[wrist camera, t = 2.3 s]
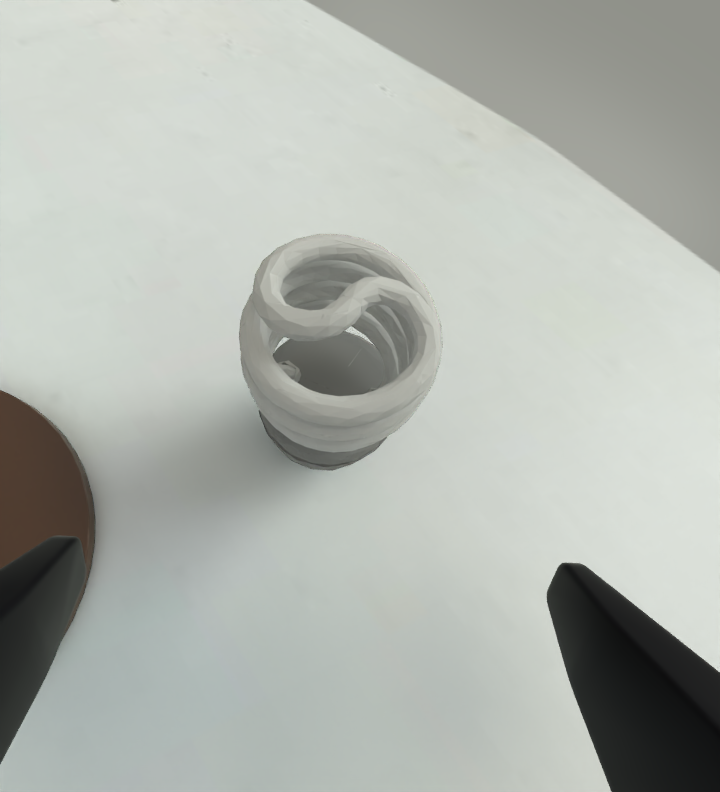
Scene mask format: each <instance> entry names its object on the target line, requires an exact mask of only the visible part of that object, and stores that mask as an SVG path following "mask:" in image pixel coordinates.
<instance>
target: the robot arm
mask: <svg viewBox="0 0 720 792" xmlns="http://www.w3.org/2000/svg"><path fill="white" fill-rule="evenodd" d="M85 579H86V564H85V559H84V554H83V548H82V543H81V540H80V539H79V538H78V537H75V536H58V535H57V536H52V537H50V538H48V539H46V540H45V541H43V542H42V543H40V544H38V545H37V546H35V547H34V548H32V549H31V550H29V551H28V552H26V553H24V554H23V555H21V556H20V557H18V558H17V559H15V560H14V561H12V562H10V563H9V564H7V565H6V566H4V567H3V568H1V569H0V764H1V762H2V760H3V758H4V756H5V754H6V752H7V750H8V748H9V747H10V745H11V743H12V741H13V739H14V737H15V735H16V733H17V731H18V729H19V727H20V726H21V724H22V722H23V720H24V718H25V716H26V714H27V712H28V710H29V708H30V706H31V705H32V703H33V701H34V699H35V697H36V695H37V693H38V691H39V689H40V687H41V685H42V683H43V681H44V679H45V677H46V675H47V673H48V671H49V669H50V666H51V664H52V662H53V659H54V657H55V655H56V652H57V650H58V647H59V645H60V642H61V640H62V637H63V635H64V632H65V630H66V627H67V625H68V622H69V620H70V618H71V615H72V613H73V610H74V608H75V605H76V603H77V600H78V598H79V595H80V593H81V590H82V588H83V585H84V583H85ZM547 603H548V607H549V611H550V614H551V618H552V621H553V625H554V629H555V632H556V636H557V639H558V643H559V646H560V650H561V653H562V657H563V661H564V664H565V668H566V671H567V674H568V678H569V681H570V684H571V687H572V689H573V692H574V695H575V698H576V700H577V703H578V706H579V708H580V711H581V713H582V716H583V719H584V721H585V724H586V726H587V729H588V732H589V734H590V737H591V739H592V742H593V745H594V747H595V750H596V752H597V755H598V758H599V760H600V763H601V765H602V768H603V771H604V773H605V776H606V778H607V781H608V784H609V786H610V789H611V792H720V672H718V671H717V670H716V669H715V668H713V667H712V666H711V665H710V664H708V663H707V662H706V661H705V660H703V659H702V658H701V657H700V656H698V655H697V654H696V653H695V652H693V651H692V650H691V649H689V648H688V647H687V646H686V645H684V644H683V643H682V642H681V641H679V640H678V639H677V638H676V637H674V636H673V635H672V634H671V633H669V632H668V631H667V630H666V629H664V628H663V627H662V626H661V625H659V624H658V623H657V622H655V621H654V620H653V619H652V618H650V617H649V616H648V615H647V614H645V613H644V612H643V611H642V610H640V609H639V608H638V607H637V606H635V605H634V604H633V603H632V602H630V601H629V600H628V599H626V598H625V597H624V596H623V595H621V594H620V593H619V592H618V591H616V590H615V589H614V588H613V587H611V586H610V585H609V584H608V583H606V582H605V581H604V580H603V579H601V578H600V577H599V576H598V575H596V574H595V573H594V572H592V571H591V570H590V569H589V568H587V567H586V566H585V565H583V564H579V563H562V564H561V565H559V567H558V568H557V571H556V573H555V575H554V577H553V579H552V582H551V584H550V586H549V588H548V591H547Z"/></svg>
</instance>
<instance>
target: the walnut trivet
mask: <svg viewBox="0 0 720 792" xmlns="http://www.w3.org/2000/svg"><path fill="white" fill-rule="evenodd" d="M57 535H58V536H75V537H78V538H79V539H80V540H81V543H82V548H83V554H84V559H85V564H86V579H85V583H84V585H83V588H82V590H81V593H80V595H79V598H78V600H77V603H76V605H75V608H74V610H73V613H72V615H71V618H70V620H69V622H68V625H67V627H66V630H65V632H64V635H65V633H66V631H67V629H68V628H69V626H70V624H71V622H72V620H73V618H74V616H75V613H76V611H77V608H78V606H79V603H80V601H81V599H82V596H83V594H84V590H85V587H86V583H87V580H88V576H89V572H90V569H91V563H92V557H93V550H94V543H95V514H94V507H93V499H92V493H91V490H90V486H89V483H88V479H87V476H86V473H85V471H84V468H83V466H82V464H81V462H80V460H79V458H78V455H77V454H76V452H75V451H74V449H73V448H72V446H71V445H70V443H69V442H68V440H67V439H66V437H65V436H64V435H63V434H62V433H61V432H60V431H59V429H58V428H57V427H56V426H55V425H54V424H53V423H52V422H51V421H50V420H49V419H47V418H46V417H45V416H44V415H42V414H41V413H40V412H39V411H37V410H36V409H35V408H33V407H32V406H30V405H28V404H26V403H25V402H23V401H21V400H19V399H18V398H16V397H14V396H12V395H10V394H8V393H6V392H3V391H1V390H0V569H1V568H3V567H4V566H6V565H7V564H9V563H10V562H12V561H14V560H15V559H17V558H18V557H20V556H21V555H23V554H24V553H26V552H28V551H29V550H31V549H32V548H34V547H35V546H37V545H38V544H40V543H42V542H43V541H45V540H46V539H48V538H50V537H52V536H57ZM64 635H63V637H64ZM63 637H62V639H63Z"/></svg>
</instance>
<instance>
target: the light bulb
mask: <svg viewBox="0 0 720 792" xmlns="http://www.w3.org/2000/svg"><path fill="white" fill-rule="evenodd" d="M350 326H352V327H354V328H355V329H357V330H358V331H360V332H361V333H363V334H364V335H366V336H367V337H368V338H369V340H370V341H371V342H372V343H373V344H374V345H375V346H376V347H375V346H374V345H373V344H371V343H370V342H368V341H366V340H365V339H363V338H361V337H360V336H357V335H354V334H351V333H348V332H345V330H346V329H347V328H349V327H350ZM283 337H286V338H289V340H288V341H286V342H285V343H284V344H282V345H281V346H280V347H279V348H278V349H277V350H276V351H275V348H276V347H277V345H278V343H279V342H280V340H281V339H282V338H283ZM239 340H240V350H241V364H242V370H243V375H244V378H245V380H246V383H247V385H248V388H249V389H250V393H251V395H252V397H253V399H254V401H255V403H256V405H257V407H258V409H259V414H260V417H261V420H262V422H263V424H264V427H265V429H266V432H267V434H268V435H269V437H270V438H271V439H272V440H273V442H274V443H275V444H276V445H277V447H278V448H279V449H280V450H281V451H282V452H283V453H284V454H285V455H286V456H287V457H288V458H289V459H291V460H292V461H294V462H296V463H299V464H301V465H303V466H306V467H308V468H310V469H320V470H335V469H338V468H341V467H344V466H348V465H351V464H353V463H355V462H357V461H359V460H361V459H362V458H364V457H365V456H367V455H369V454H370V453H372V452H374V451H375V450H376V449H377V448H378V447H379V446H380V445H381V444H382V442H383V441H384V440H385V439H386V438H387V436H389V435H390V434H392V433H394V432H395V431H397V430H398V429H399V428H400V427H401V426H402V425H403V424H405V423H406V422H407V421H408V420H409V418H410V417H411V416H412V415H413V414H414V412H415V411H416V410H417V408H418V407H419V405H420V403H421V402H422V400H423V399H424V398H425V396H426V395H427V394H428V392H429V390H430V388H431V386H432V384H433V383H434V380H435V377H436V374H437V370H438V367H439V364H440V361H441V353H442V332H441V324H440V320H439V317H438V313H437V310H436V307H435V304H434V301H433V299H432V297H431V296H430V294H429V292H428V290H427V288H426V286H425V284H424V283H423V282H422V281H421V279H420V278H419V277H418V276H417V274H416V273H415V272H414V271H413V270H412V269H411V268H410V267H409V266H408V265H407V264H406V263H405V262H404V261H402V260H401V259H400V258H399V257H397V256H396V255H394V254H393V253H391V252H389V251H388V250H386V249H385V248H383V247H381V246H380V245H377V244H374V243H372V242H369V241H367V240H364V239H361V238H357V237H352V236H348V235H337V234H317V235H313V236H308V237H303V238H298V239H295V240H293V241H291V242H289V243H287V244H285V245H282V246H280V247H278V248H277V249H276V250H275V251H273V252H272V253H271V254H270V255H269V256H268V257H266V258H265V259H264V260H263V261H262V263H261V265H260V267H259V269H258V270H257V272H256V274H255V280H254V285H253V292H252V294H251V295H250V297H249V299H248V301H247V303H246V305H245V307H244V309H243V312H242V316H241V321H240V332H239ZM274 351H275V353H274ZM273 353H274V354H273Z"/></svg>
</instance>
